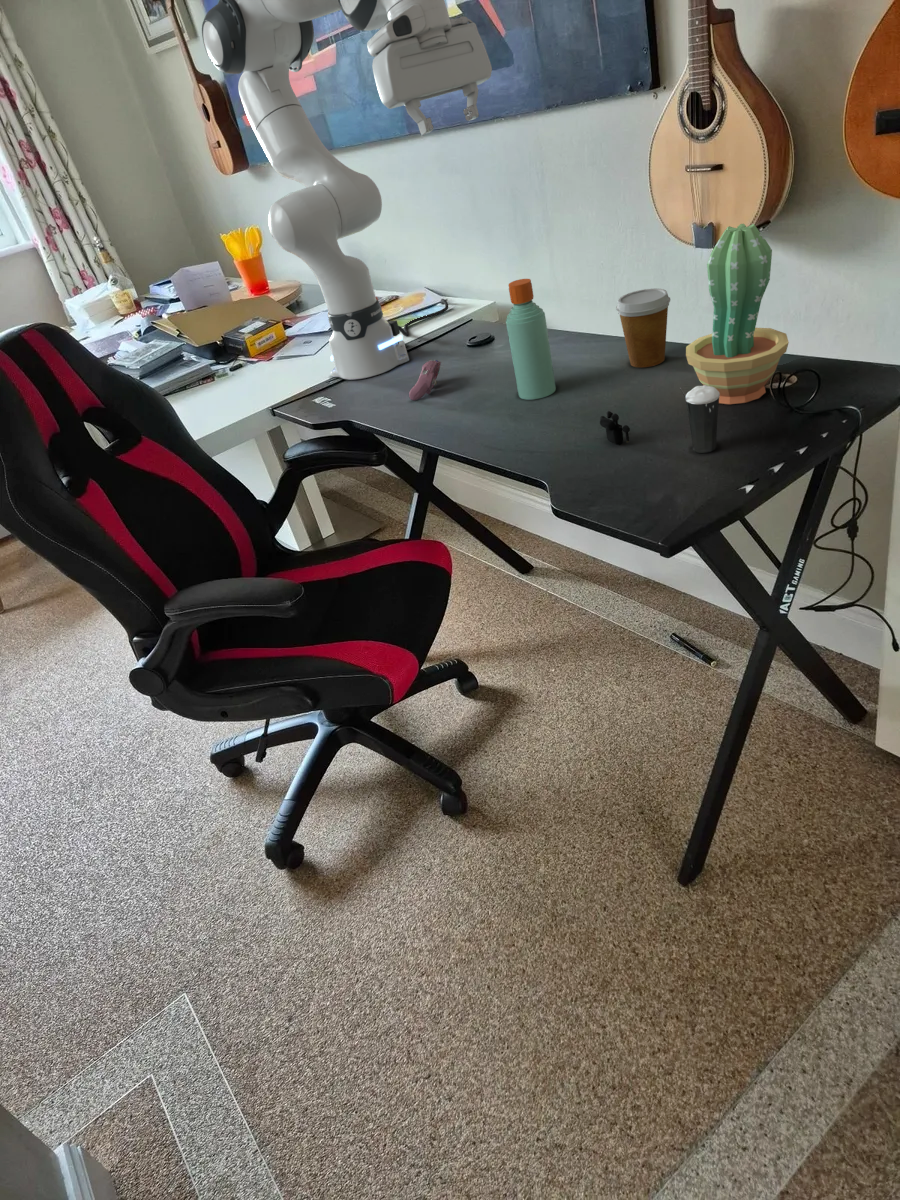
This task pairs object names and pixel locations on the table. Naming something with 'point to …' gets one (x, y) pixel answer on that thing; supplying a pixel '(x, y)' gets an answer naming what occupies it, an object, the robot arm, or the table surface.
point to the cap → (521, 291)
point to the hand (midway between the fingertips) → (450, 125)
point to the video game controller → (425, 380)
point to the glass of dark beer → (703, 417)
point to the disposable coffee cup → (644, 325)
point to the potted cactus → (738, 320)
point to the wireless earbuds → (614, 428)
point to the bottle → (530, 351)
